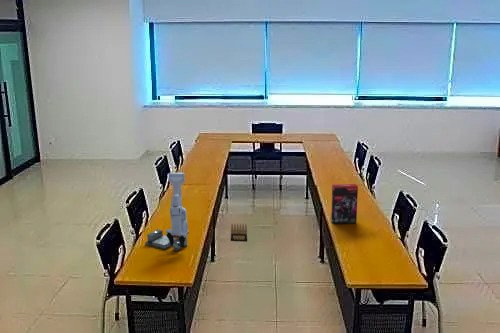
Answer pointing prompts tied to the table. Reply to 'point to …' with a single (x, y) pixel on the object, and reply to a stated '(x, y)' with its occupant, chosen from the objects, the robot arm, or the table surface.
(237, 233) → the ammunition clip
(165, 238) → the dial scale
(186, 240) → the cylinder
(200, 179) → the table surface
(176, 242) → the cylinder
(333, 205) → the graphics card box
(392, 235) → the table surface
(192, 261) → the table surface
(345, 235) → the table surface
